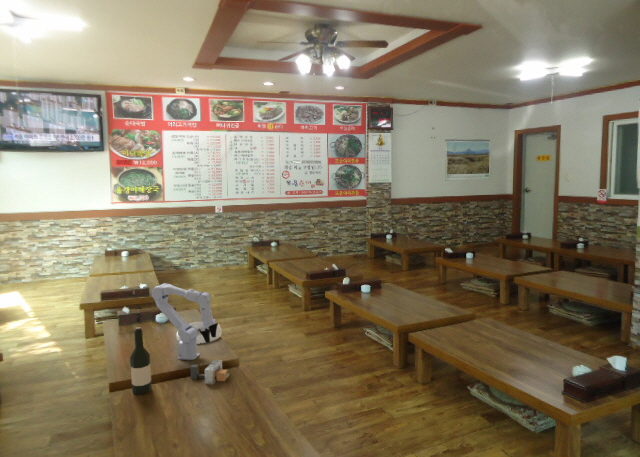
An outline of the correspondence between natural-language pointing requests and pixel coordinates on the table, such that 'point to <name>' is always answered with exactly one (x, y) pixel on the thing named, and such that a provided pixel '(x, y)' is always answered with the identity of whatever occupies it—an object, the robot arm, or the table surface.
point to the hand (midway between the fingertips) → (210, 339)
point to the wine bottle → (140, 366)
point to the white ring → (200, 337)
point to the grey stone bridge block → (212, 371)
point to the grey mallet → (220, 376)
